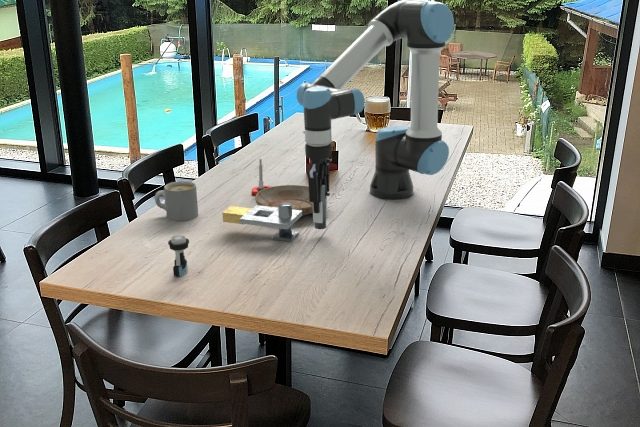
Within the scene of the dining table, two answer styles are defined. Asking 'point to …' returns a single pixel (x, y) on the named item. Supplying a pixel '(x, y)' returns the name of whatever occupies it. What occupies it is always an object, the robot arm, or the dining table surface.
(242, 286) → the dining table surface
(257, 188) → the tow hook
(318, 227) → the pin
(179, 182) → the coffee mug
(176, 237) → the push button
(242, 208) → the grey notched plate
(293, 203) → the ceramic bowl
